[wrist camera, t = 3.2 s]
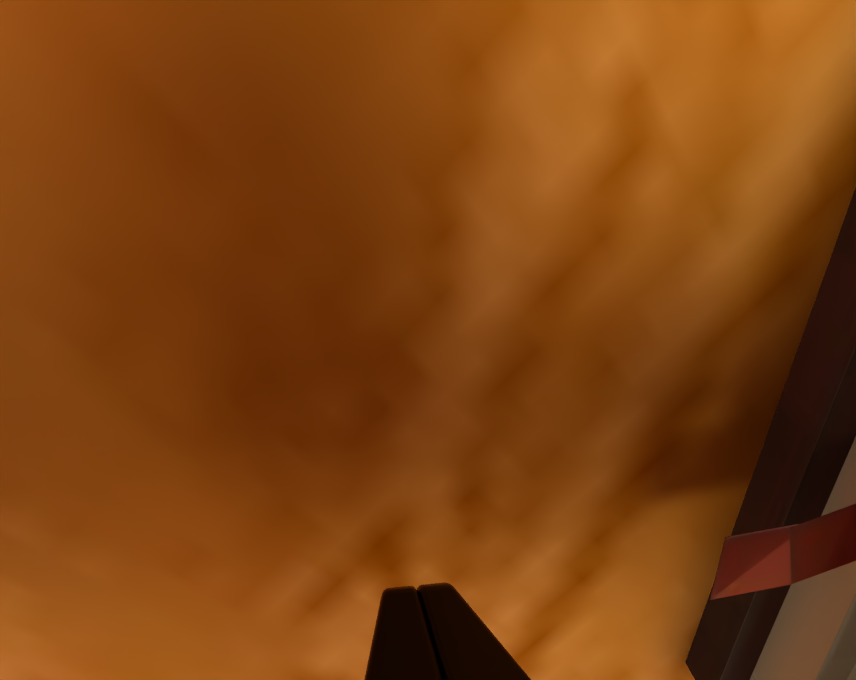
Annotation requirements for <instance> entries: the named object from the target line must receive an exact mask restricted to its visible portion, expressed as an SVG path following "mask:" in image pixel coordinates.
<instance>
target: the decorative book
mask: <svg viewBox="0 0 856 680" xmlns="http://www.w3.org/2000/svg"><path fill="white" fill-rule="evenodd" d="M686 664H687V665H688V667H689V669H690V671H691V673H692V675H693V677H694V678H695V680H856V189H855V191H854V194H853V197H852V200H851V202H850V205H849V208H848V211H847V214H846V216H845V219H844V222H843V225H842V228H841V230H840V233H839V236H838V239H837V241H836V244H835V247H834V250H833V253H832V255H831V258H830V261H829V264H828V267H827V269H826V272H825V275H824V278H823V281H822V283H821V286H820V289H819V292H818V294H817V297H816V300H815V303H814V306H813V308H812V311H811V314H810V317H809V320H808V322H807V325H806V328H805V331H804V333H803V336H802V339H801V342H800V345H799V347H798V350H797V353H796V356H795V359H794V361H793V364H792V367H791V370H790V373H789V375H788V378H787V381H786V384H785V386H784V389H783V392H782V395H781V398H780V400H779V403H778V406H777V409H776V412H775V414H774V417H773V420H772V423H771V425H770V428H769V431H768V434H767V437H766V439H765V442H764V445H763V448H762V451H761V453H760V456H759V459H758V462H757V465H756V467H755V470H754V473H753V476H752V478H751V481H750V484H749V487H748V490H747V492H746V495H745V498H744V501H743V504H742V506H741V509H740V512H739V515H738V517H737V520H736V523H735V526H734V529H733V531H732V534H731V536H730V537H725V540H724V544H723V548H722V552H721V556H720V561H719V565H718V569H717V573H716V577H715V581H714V584H713V587H712V590H711V593H710V596H709V598H708V601H707V604H706V607H705V609H704V612H703V615H702V618H701V621H700V623H699V626H698V629H697V632H696V635H695V637H694V640H693V643H692V646H691V648H690V651H689V654H688V657H687V660H686Z"/></svg>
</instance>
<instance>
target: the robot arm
mask: <svg viewBox="0 0 856 680" xmlns="http://www.w3.org/2000/svg"><path fill="white" fill-rule="evenodd" d="M365 680H531V679H530V678H529V677H528V676H527V674H526V673H525V672H524V671H523V670H522V668H521V667H520V666H519V665H518V664H517V662H516V661H515V660H514V659H513V658H512V656H511V655H510V654H509V653H508V652H507V650H506V649H505V648H504V647H503V646H502V644H501V643H500V642H499V641H498V640H497V638H496V637H495V636H494V635H493V634H492V632H491V631H490V630H489V629H488V628H487V626H486V625H485V624H484V623H483V622H482V620H481V619H480V618H479V617H478V616H477V614H476V613H475V612H474V611H473V610H472V609H471V607H470V606H469V605H468V604H467V603H466V601H465V600H464V599H463V598H462V597H461V595H460V594H459V593H458V592H457V591H456V589H455V588H454V587H453V586H452V585H450V584H448V583H435V584H425V585H420V586H419V587H418V588H417V590H416V589H415V588H414V587H413V586H405V587H395V588H387V589H385V590H384V591H383V593H382V596H381V601H380V606H379V611H378V616H377V620H376V625H375V630H374V635H373V640H372V645H371V650H370V655H369V660H368V665H367V670H366V675H365Z"/></svg>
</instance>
